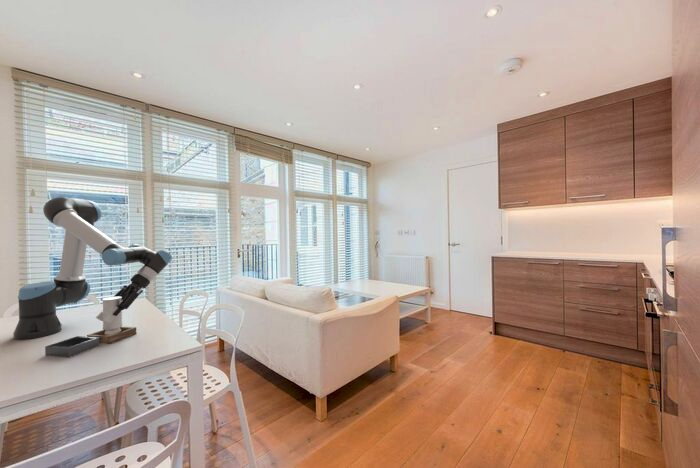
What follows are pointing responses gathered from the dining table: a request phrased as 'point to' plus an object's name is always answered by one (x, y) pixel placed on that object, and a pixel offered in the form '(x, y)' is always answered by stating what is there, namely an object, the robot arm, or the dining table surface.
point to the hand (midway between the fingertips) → (102, 320)
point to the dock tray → (114, 335)
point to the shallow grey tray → (71, 346)
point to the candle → (108, 307)
